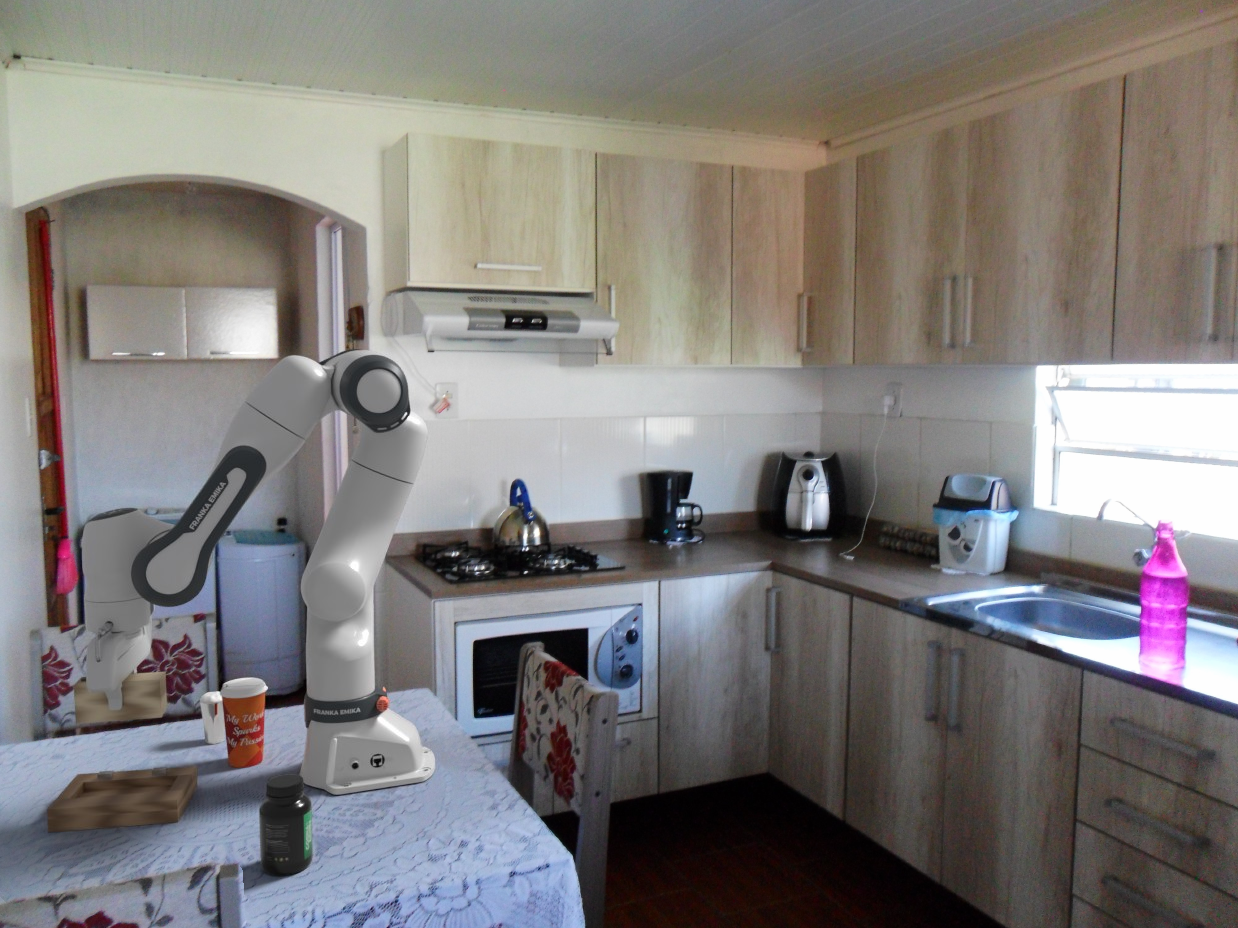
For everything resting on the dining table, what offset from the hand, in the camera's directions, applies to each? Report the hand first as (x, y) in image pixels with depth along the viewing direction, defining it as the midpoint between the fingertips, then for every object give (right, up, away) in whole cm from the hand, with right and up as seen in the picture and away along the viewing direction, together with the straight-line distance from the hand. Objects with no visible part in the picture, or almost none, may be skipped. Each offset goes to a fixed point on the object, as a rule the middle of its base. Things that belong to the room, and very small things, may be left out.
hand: (122, 702), depth 152 cm
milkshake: (+3, -14, +30) cm, 33 cm away
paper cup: (+11, -15, +20) cm, 28 cm away
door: (0, -2, 0) cm, 2 cm away
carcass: (0, -17, +2) cm, 17 cm away
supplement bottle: (+31, -19, -16) cm, 39 cm away
